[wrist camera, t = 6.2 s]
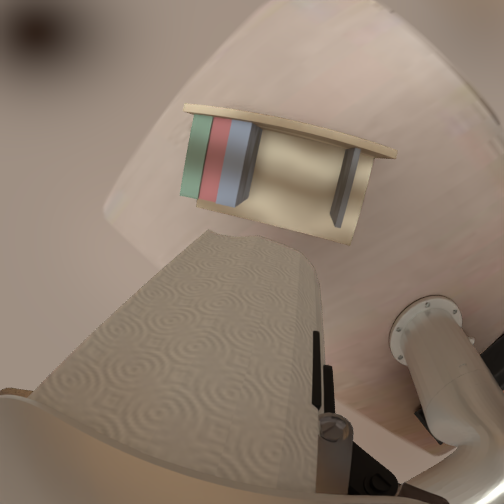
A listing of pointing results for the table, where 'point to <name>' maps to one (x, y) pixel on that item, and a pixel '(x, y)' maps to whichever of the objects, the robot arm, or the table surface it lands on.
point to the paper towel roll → (208, 365)
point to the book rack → (278, 171)
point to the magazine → (498, 362)
